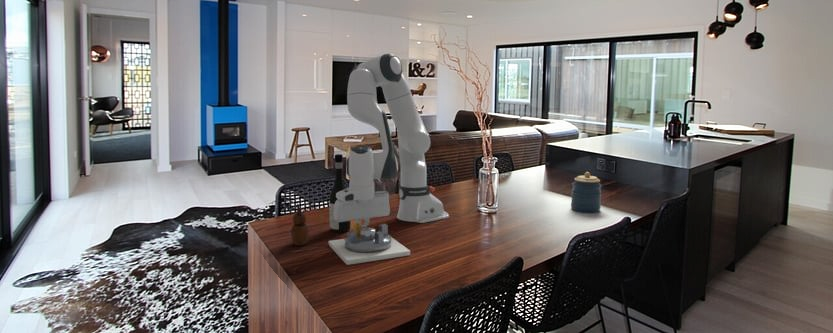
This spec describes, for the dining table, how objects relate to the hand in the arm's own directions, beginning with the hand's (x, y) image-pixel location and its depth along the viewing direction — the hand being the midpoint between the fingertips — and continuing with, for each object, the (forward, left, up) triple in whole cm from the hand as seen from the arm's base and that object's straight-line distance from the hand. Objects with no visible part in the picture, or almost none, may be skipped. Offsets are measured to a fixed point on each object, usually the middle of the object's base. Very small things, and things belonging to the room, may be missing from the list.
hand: (362, 230), depth 176 cm
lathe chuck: (0, +7, -3) cm, 7 cm away
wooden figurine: (+20, -9, -5) cm, 23 cm away
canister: (-110, -5, -5) cm, 110 cm away
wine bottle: (+2, -20, -5) cm, 21 cm away
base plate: (0, +7, -5) cm, 8 cm away
